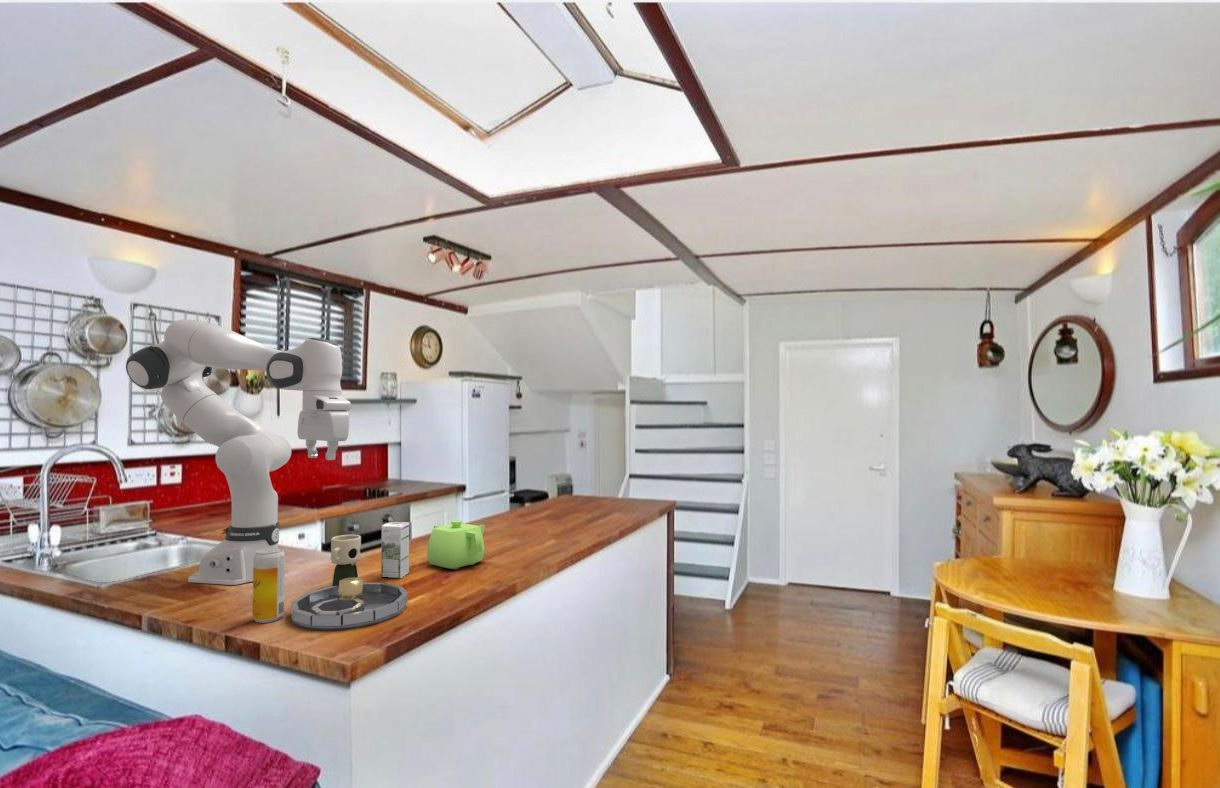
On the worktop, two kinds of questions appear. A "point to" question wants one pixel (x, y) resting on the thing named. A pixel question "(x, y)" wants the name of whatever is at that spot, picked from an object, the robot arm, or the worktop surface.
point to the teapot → (456, 545)
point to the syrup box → (395, 550)
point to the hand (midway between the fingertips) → (321, 458)
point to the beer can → (268, 584)
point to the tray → (348, 605)
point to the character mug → (345, 556)
